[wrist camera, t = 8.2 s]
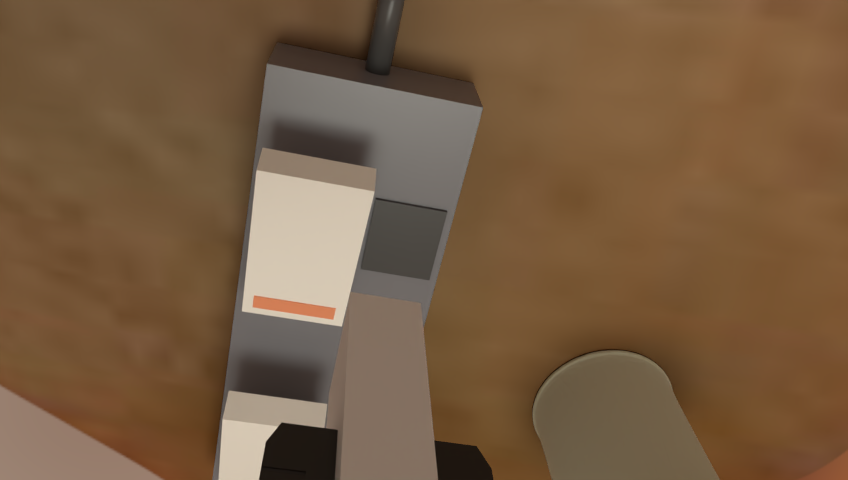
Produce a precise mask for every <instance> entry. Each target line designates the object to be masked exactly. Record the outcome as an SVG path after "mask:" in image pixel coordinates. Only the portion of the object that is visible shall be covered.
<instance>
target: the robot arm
mask: <svg viewBox="0 0 848 480" xmlns="http://www.w3.org/2000/svg"><path fill="white" fill-rule="evenodd" d="M259 480H493V475H492V470H491V467H490V466H489V464H488V463H487V461H486V460H485V458H484V457H483V455H482V454H481V452H480V451H479V449H478V448H477V446H471V445H463V444H456V443H448V442H441V441H434V433H433V423H432V413H431V402H430V392H429V382H428V372H427V362H426V351H425V341H424V331H423V321H422V310H421V303H417V302H411V301H405V300H399V299H392V298H386V297H380V296H374V295H367V294H361V293H355V292H350V297H349V302H348V306H347V311H346V316H345V320H344V325H343V330H342V335H341V339H340V344H339V349H338V354H337V358H336V363H335V368H334V373H333V377H332V382H331V387H330V391H329V400H328V412H327V424H326V428H320V427H313V426H305V425H298V424H290V423H282V422H281V424H280V425H279V426H278V427H277V429H276V430H275V431H274V432H273V434H272V435H271V436H270V437H269V438H268V440H267V441H266V443H265V449H264V454H263V460H262V465H261V471H260V476H259Z"/></svg>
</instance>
